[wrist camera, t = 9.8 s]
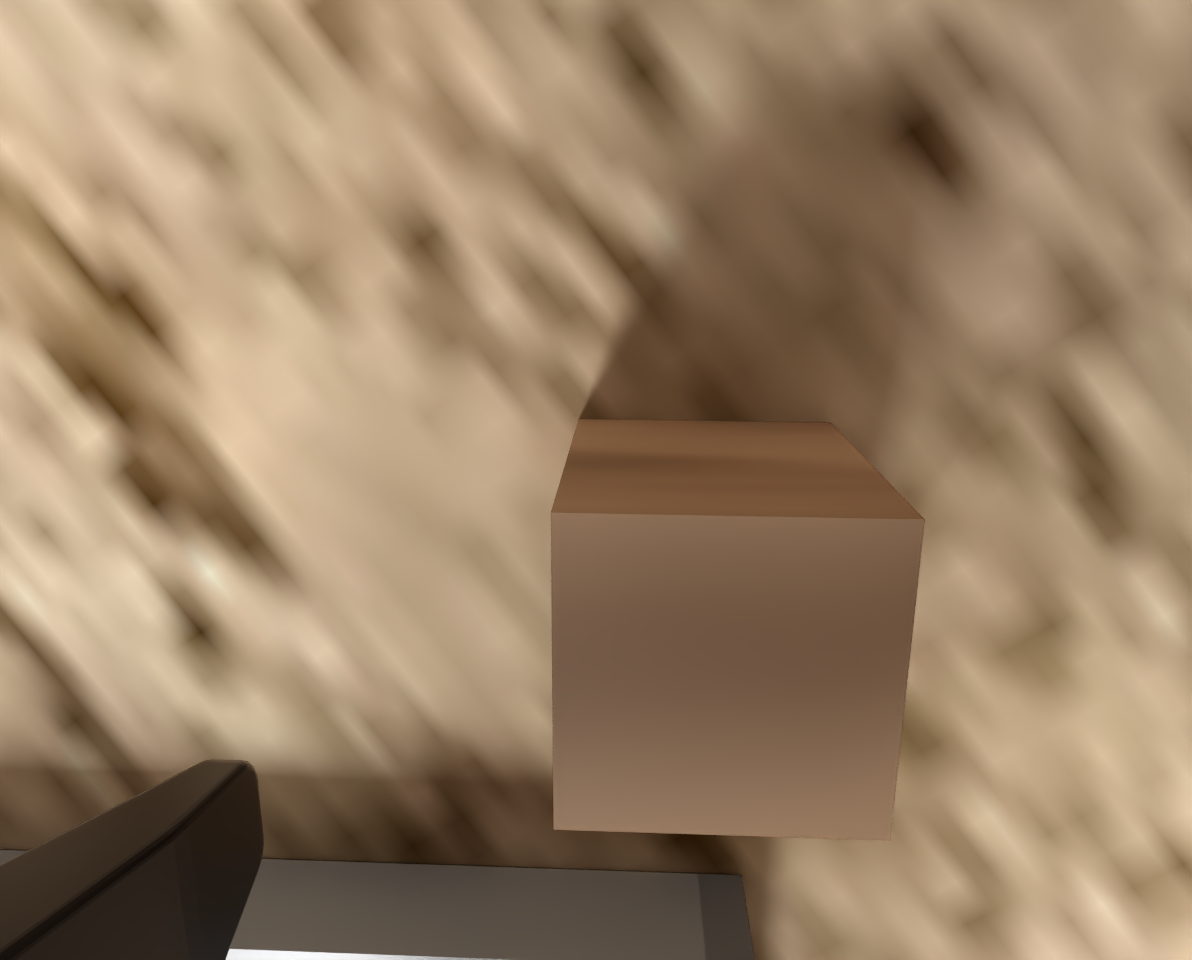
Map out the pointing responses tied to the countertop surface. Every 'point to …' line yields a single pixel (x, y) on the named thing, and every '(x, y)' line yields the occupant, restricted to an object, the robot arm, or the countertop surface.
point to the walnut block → (728, 631)
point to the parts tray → (486, 913)
